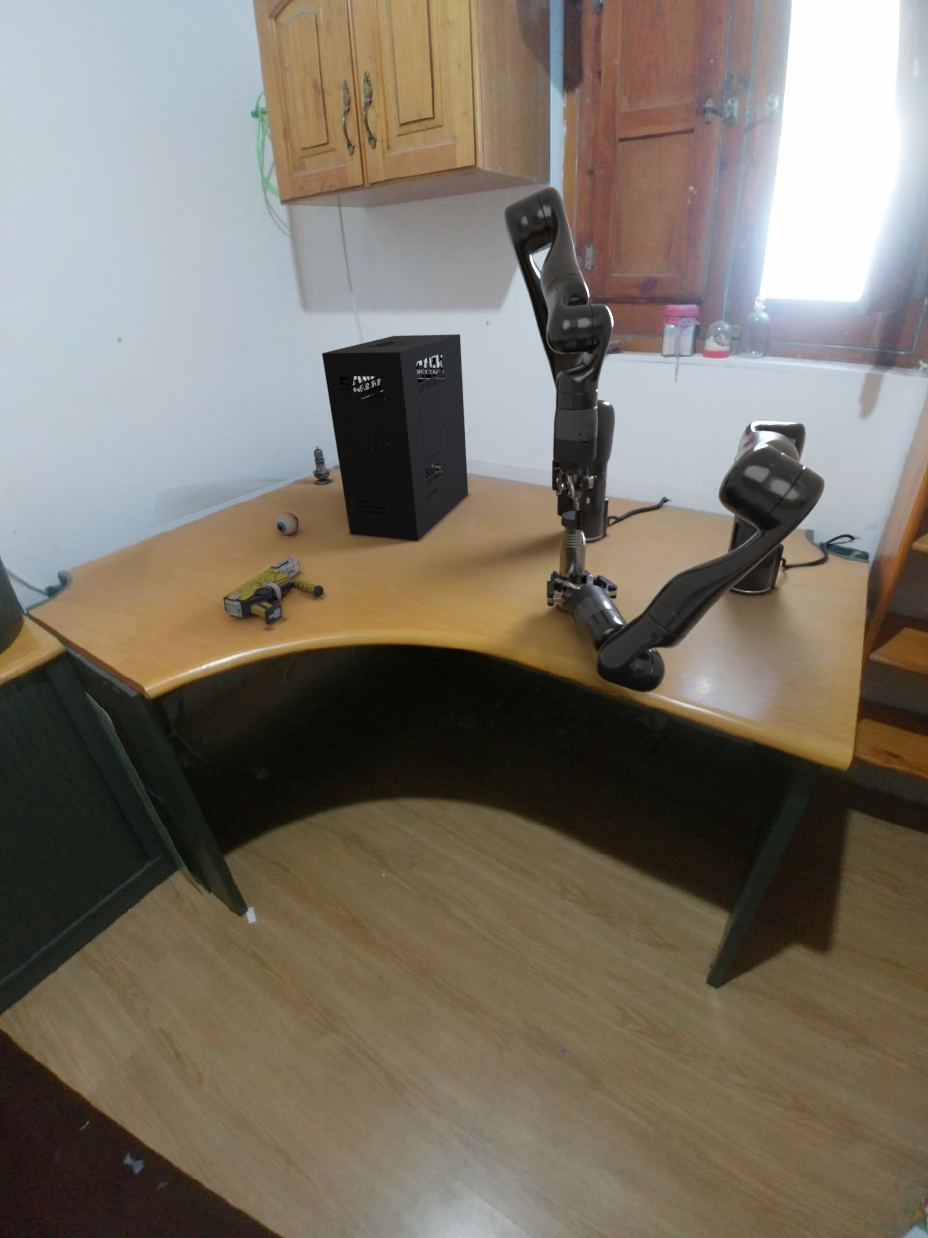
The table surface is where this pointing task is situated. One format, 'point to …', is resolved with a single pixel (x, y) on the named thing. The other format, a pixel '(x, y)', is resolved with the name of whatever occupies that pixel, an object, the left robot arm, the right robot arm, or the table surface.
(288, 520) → the eyeball
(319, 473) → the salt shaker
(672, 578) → the right robot arm
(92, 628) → the table surface
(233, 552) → the table surface
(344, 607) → the table surface
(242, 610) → the toy gun
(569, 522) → the cap
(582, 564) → the bottle
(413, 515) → the cardboard box
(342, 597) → the table surface
